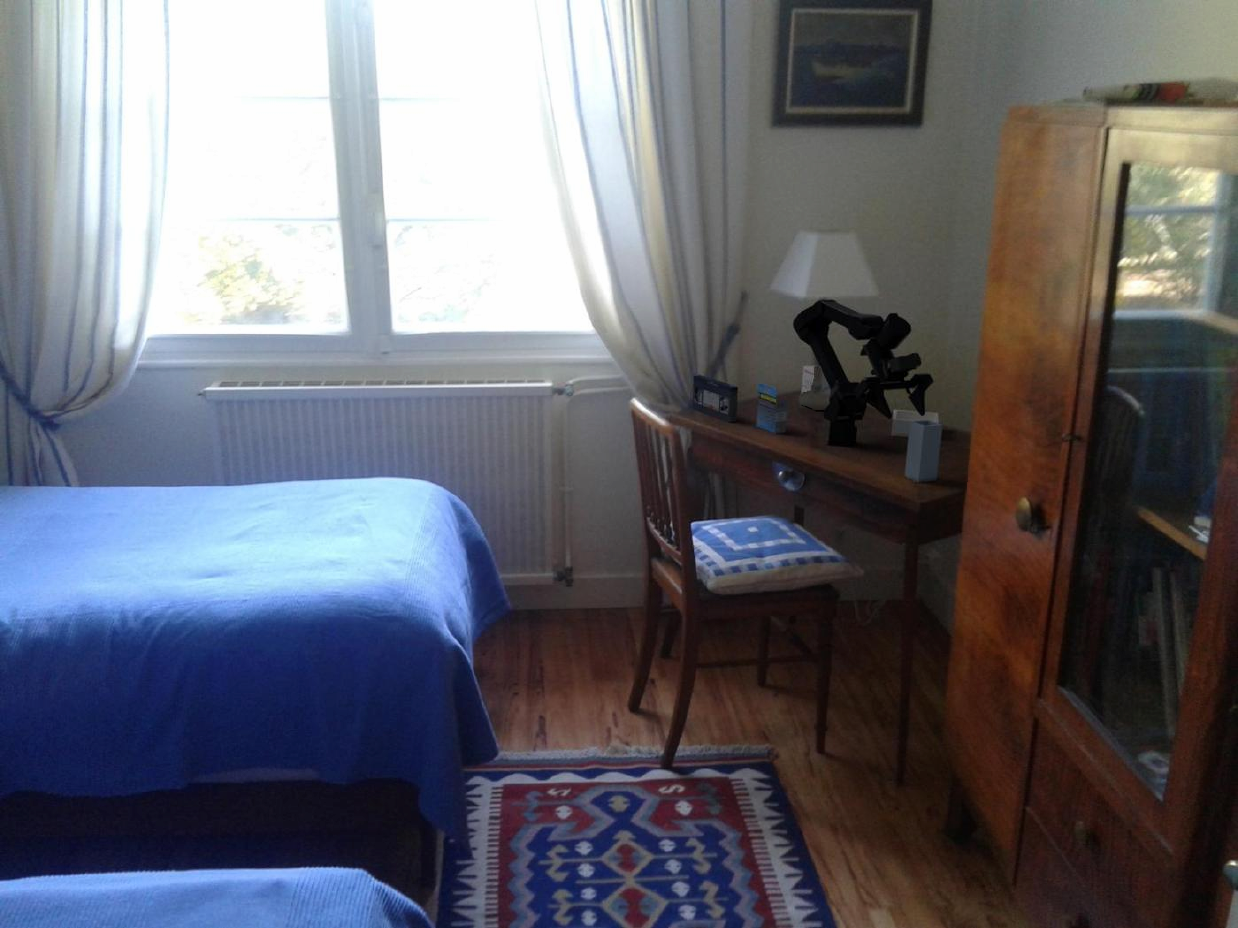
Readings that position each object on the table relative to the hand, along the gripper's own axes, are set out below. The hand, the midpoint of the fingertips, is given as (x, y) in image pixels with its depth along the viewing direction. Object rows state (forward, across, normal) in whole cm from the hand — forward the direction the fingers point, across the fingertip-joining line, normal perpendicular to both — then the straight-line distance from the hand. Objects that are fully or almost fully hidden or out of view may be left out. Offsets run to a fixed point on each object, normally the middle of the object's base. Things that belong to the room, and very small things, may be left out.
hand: (907, 416), depth 246 cm
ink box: (-34, +15, +53) cm, 65 cm away
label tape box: (-21, -11, +40) cm, 46 cm away
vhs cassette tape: (-34, -18, +53) cm, 66 cm away
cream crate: (-11, +25, +29) cm, 40 cm away
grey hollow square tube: (+14, 0, +4) cm, 15 cm away
